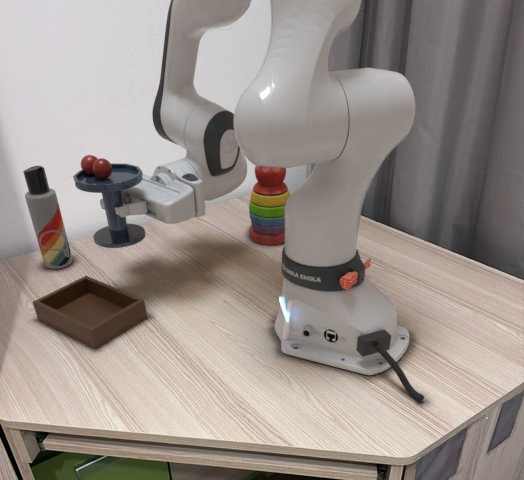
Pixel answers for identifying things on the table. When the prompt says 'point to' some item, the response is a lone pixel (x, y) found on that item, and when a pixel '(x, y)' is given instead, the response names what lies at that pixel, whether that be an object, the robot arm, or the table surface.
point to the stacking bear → (268, 205)
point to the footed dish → (113, 204)
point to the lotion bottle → (47, 219)
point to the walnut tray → (90, 311)
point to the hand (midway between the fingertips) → (109, 208)
